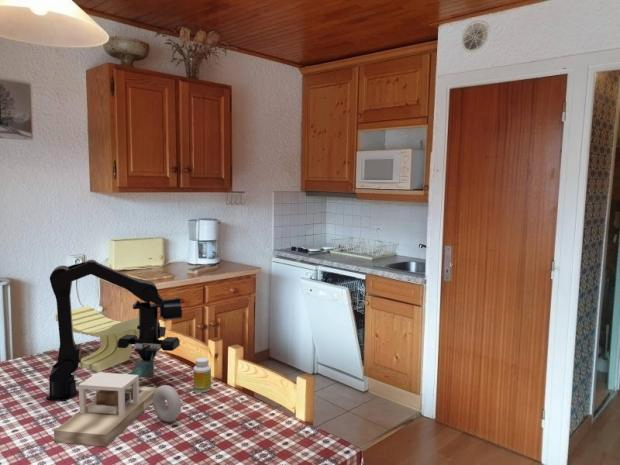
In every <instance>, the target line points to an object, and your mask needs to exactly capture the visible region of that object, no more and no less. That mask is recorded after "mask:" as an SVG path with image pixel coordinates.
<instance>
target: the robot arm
mask: <svg viewBox="0 0 620 465" xmlns="http://www.w3.org/2000/svg"><path fill="white" fill-rule="evenodd" d="M90 275H91V276H94V277H97V278H99V279H101V280H103V281H106V282H108V283H110V284H113V285H115V286H118V287H120V288H123V289H125V290H127V291H128V292H129V293H131V294H132V295H134V296H135V297H136V298H138V299H137V300H136V302H135V303H133V304H132V309H133V310H138V318H139V325H138V326H137V329H139V336H138V335H137V334H136V335H125V336H123V337H121V338H120V339H119V340H118V342H117V346H118V348H127V347H128V346H129V344H132V345H133V346H134V345H135V348H134V352H136V353H137V354H138V355H139V356H140V358H141V360H146V361H154V362H155V357H156V355H157V352H158V351H160V350H162V351H163V352H164V351H169V352H172V351H173V352H174V351H175V350H176V349H177V348H178V347H179V346H181V344H180V342H181V340H180V339H179V338H178V336H175V337H174V336H167V337H166V330H167V327H166V326H161V323H160V321H159V320H158V318H162V320H164V321H166V320H167V321H168V320H181V319H182V318H183V309H182V304H181V303H182V302H181V298H180V297H174V298H163V297H162V295H160V294H159V290H158V288H157V285H156V284H155V283H154V282H153V281H151V280H146V279H142V278H136V277H132V276H129V275H128V274H125V273H123V272H121V271H118V270H115V269H113V268H111V267H109V266H106V265H105V264H102V263H100V262H98V261H96V260H95V259H88V260H86V261H83V262H80V263H75V264H72V265H68V266H67V265H58V266H56V267H55V268H54V269H53V270H52V272H51V273H50V275H49V282H50V286H51V289H52V291H53V295H54V297H55V299H56V302H55V303H56V311H57V312H56V313H57V314H58V321H57V325H58V335H59V336H58V337H59V338H58V339H59V347H58V355H57V362H55V363H54V364H53V365H52V367H51V370H50V373H49V376H48V377H49V378H48V382H49V383H48V384H49V386H48V387H49V395H48V396H47V397H45V399H46V400H52V401H63V402H64V401H67V400H69V399H71V398H72V397H73V396H75V395H76V394H79V390H77V382H76V380H75V374H73V373H75V372H76V371H77V369H78V364H79V363H81V358H83V357H82V356H83V355H82V353H81V343H76V342H75V338H74V332H73V323H72V311H71V310H72V300H71V292H72V285H73V282H74V281H77V280H80V279H81V278H84V277H87V276H90ZM139 299H140V300H141V301H143V302H141V301H140V300H139ZM158 312H159V314H158ZM158 315H159V316H158ZM162 337H163V338H164V339H161V338H162Z"/></svg>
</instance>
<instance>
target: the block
mask: <svg viewBox="0 0 620 465" xmlns="http://www.w3.org/2000/svg"><path fill="white" fill-rule="evenodd" d="M95 399H96V404H108V405H118V391H109V390H100V391H99V392H97V393H96V392H95Z"/></svg>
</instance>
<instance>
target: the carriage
mask: <svg viewBox="0 0 620 465" xmlns="http://www.w3.org/2000/svg"><path fill="white" fill-rule="evenodd" d="M155 371H156V370H155V360H154V361H146V360H142V359H135V360H134V369H133V370H131V371H130V372H129V373H128V374H131V375H139V380H140V378H143V379H144V378H145V379H146V378H147V379H154V378H155V377H156V376H155ZM130 386H133V383H132V384H131V385H130ZM130 386H129V387H130ZM127 388H128V387H127ZM127 388H126V389H127ZM126 389H125V390H126ZM130 402H131V392H125V407H126V406H127V405H128V404H129V403H130ZM87 405H88V412H91V413H104V414H117V413H119V407H118V405H108V404H96V403H91V402H90V403H88V404H87Z"/></svg>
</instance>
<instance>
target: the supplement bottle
mask: <svg viewBox="0 0 620 465" xmlns="http://www.w3.org/2000/svg"><path fill="white" fill-rule="evenodd" d="M209 363H210V362H209V358H208V357H198V358H196V359H195V366H193V391H195V392H197V393H206V392H209V391H210V390H211V389H212V368H211V367H212V366H210V364H209Z"/></svg>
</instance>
